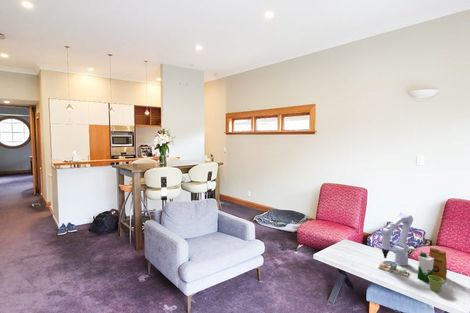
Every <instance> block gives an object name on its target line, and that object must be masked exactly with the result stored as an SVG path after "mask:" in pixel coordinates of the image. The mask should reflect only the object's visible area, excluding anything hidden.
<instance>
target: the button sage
mask: <svg viewBox="0 0 470 313" xmlns="http://www.w3.org/2000/svg"><path fill="white" fill-rule="evenodd" d="M399 269H400V272H401V273H404V274H406V271H407V270H406V269H405V268H399Z"/></svg>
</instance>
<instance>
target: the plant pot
mask: <svg viewBox="0 0 470 313" xmlns="http://www.w3.org/2000/svg"><path fill="white" fill-rule="evenodd" d="M428 278H429V282H428V283H429V289H430V290H431V291H433V292H436V293H439V292H441V291H442V287H443V283H444V282H445V279H444V280H443V279H442V278H440V277H437V276H433V275H430V276H428Z"/></svg>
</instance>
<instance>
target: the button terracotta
mask: <svg viewBox="0 0 470 313" xmlns="http://www.w3.org/2000/svg"><path fill="white" fill-rule="evenodd" d="M380 264H381V267H383V268H387V266H388V264H386V263H382V262H381V263H380Z"/></svg>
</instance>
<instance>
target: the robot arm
mask: <svg viewBox="0 0 470 313" xmlns="http://www.w3.org/2000/svg"><path fill="white" fill-rule="evenodd" d="M413 222H414V217H413V216H412V215H409V214H406V213H404V212H403V213H402V212H400V213H398V215H397V218H396V219H395V220H394V221H393V222H390V223H389V224H388V225H387V226H386V227H383V228H382V229H381V231H380V234H381V237H382V239H381V240H382V241H381V243H382V244H381V245H379V244H376V246H375V247H376V249H381V253H382V254H383V259H387V257H388V254H389V252H394V253H395V255H394V259H393V260H392V262H393V263H395V264H396V266H409V255H408V248H409V247H408V245H407V244H406V243H407V239H408V235H409V233H410V230H411V229H410V228H411V226H412V224H413ZM401 223H402V225H403V226H402V229H401V233H400V236H399V239H398V241H397V242H395V243H394V245H393V247H391V236H392V235H393V232H394V231H395V230H396V229H397V227H398V226H399V225H400V224H401Z"/></svg>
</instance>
